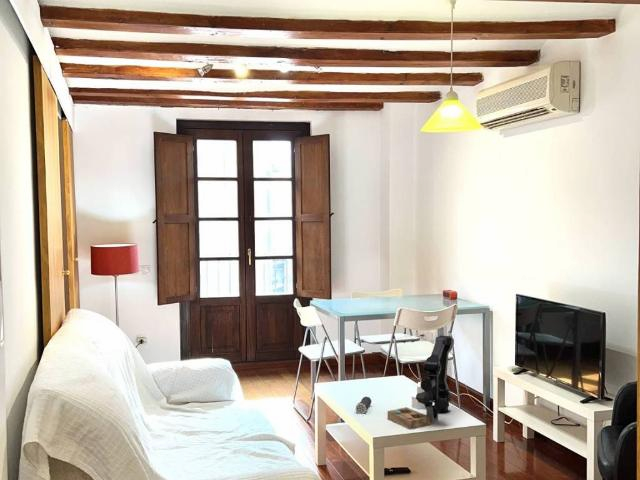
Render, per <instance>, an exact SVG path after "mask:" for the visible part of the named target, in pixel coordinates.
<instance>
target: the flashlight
mask: <svg viewBox="0 0 640 480" xmlns="http://www.w3.org/2000/svg"><path fill="white" fill-rule="evenodd" d="M371 404H372V399H371V397H370V396H363V397H362V398H361V401H360V402H358V403H357V405H355V411H356V413H357V414H359V415H363V414H365V413H366V411H367V410H368V407H370V406H371Z"/></svg>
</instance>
